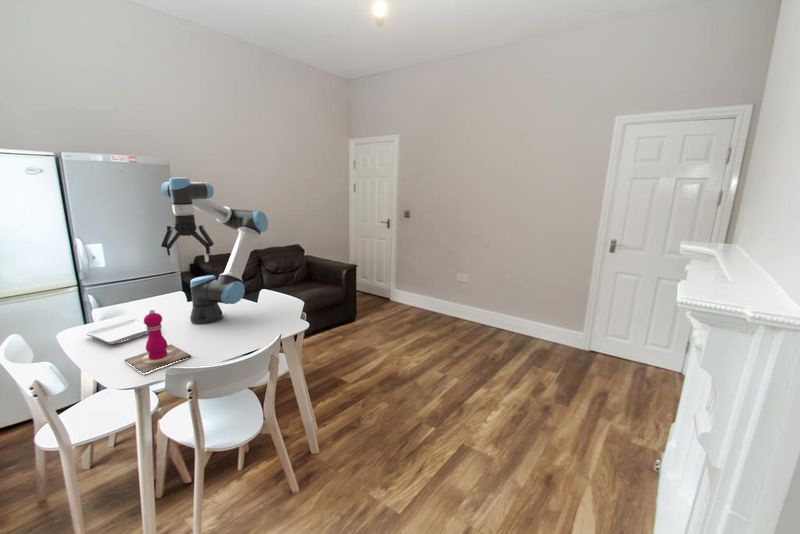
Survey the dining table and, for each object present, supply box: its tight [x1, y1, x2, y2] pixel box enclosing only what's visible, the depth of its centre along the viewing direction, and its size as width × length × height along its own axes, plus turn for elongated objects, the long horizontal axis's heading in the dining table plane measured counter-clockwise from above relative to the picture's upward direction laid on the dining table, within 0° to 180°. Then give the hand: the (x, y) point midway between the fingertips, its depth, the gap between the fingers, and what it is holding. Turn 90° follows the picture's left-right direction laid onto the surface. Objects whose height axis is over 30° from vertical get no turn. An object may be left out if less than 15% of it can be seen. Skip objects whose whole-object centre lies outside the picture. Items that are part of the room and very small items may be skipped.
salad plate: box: [85, 318, 149, 345], centre depth 163 cm, size 21×21×3 cm
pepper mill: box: [143, 309, 169, 360], centre depth 139 cm, size 7×7×20 cm
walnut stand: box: [124, 343, 192, 373], centre depth 141 cm, size 17×17×2 cm
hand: (190, 262), depth 155 cm, fingers open, 13 cm apart
